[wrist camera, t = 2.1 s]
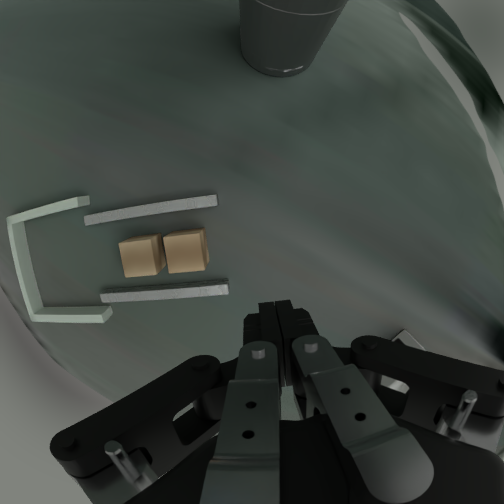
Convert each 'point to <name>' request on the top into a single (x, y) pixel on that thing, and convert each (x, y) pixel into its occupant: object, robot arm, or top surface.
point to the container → (392, 383)
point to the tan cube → (186, 250)
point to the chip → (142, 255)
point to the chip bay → (28, 278)
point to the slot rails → (167, 289)
